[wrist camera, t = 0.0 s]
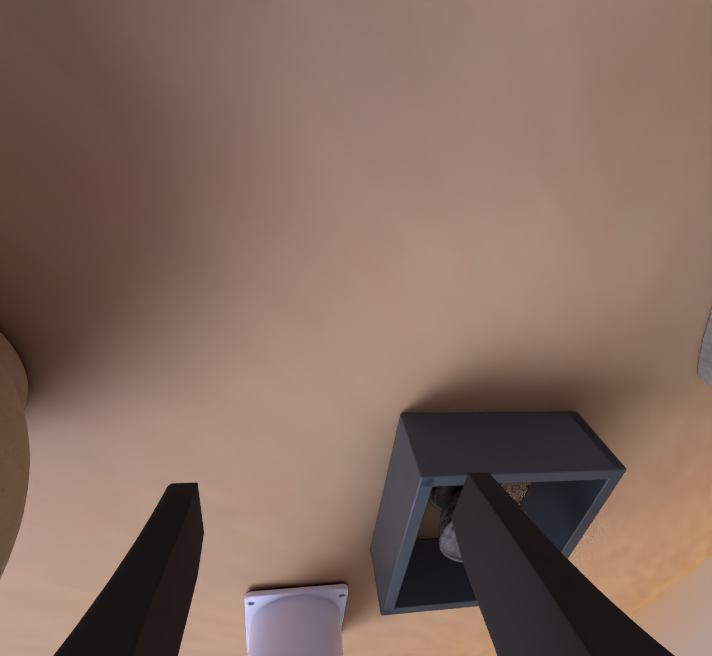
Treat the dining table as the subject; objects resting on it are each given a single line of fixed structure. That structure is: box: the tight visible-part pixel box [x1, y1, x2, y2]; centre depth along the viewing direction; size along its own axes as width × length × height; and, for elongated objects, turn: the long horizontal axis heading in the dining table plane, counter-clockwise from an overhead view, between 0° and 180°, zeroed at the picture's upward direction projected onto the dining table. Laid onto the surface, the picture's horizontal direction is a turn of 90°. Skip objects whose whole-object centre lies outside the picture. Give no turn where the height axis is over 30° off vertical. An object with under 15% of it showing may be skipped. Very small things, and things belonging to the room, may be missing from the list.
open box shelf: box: [370, 412, 626, 615], centre depth 26 cm, size 14×12×4 cm
